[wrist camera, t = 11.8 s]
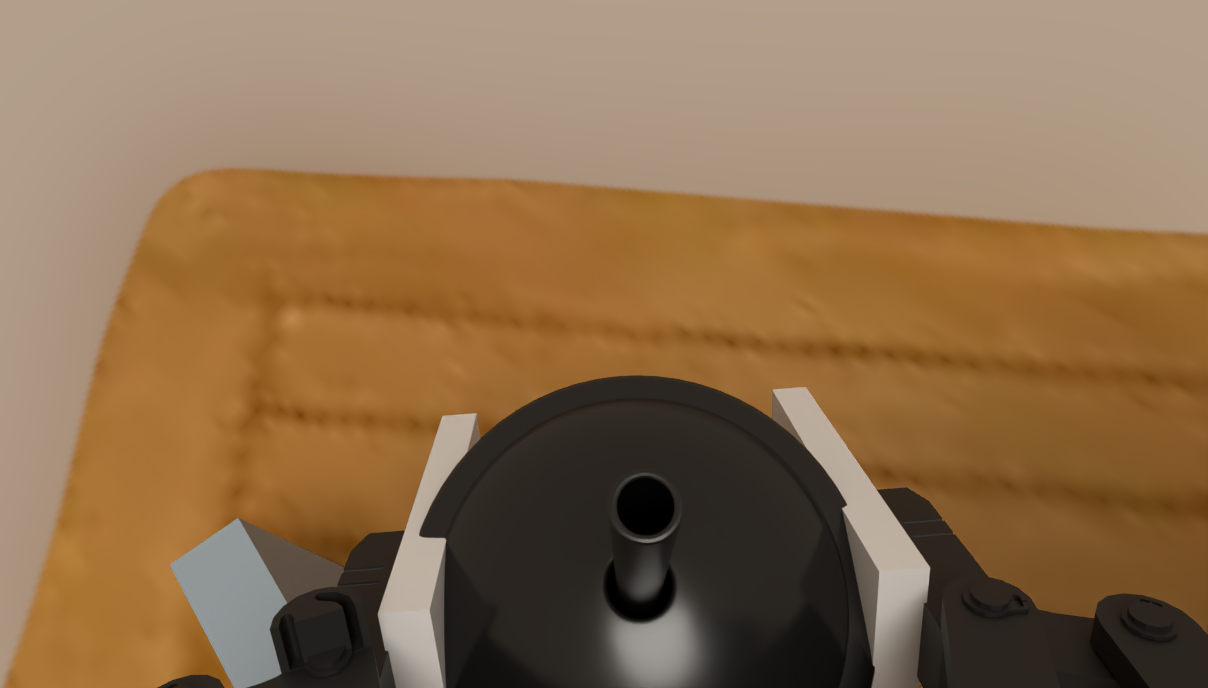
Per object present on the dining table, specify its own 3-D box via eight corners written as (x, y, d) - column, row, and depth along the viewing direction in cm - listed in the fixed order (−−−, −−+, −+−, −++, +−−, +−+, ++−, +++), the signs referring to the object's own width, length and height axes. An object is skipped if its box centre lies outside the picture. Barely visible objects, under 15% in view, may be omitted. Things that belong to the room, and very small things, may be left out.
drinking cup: (476, 592, 26) (116, 339, 8) (680, 486, 27) (782, 53, 9) (580, 834, 23) (394, 1333, 5) (803, 703, 24) (1313, 714, 6)
